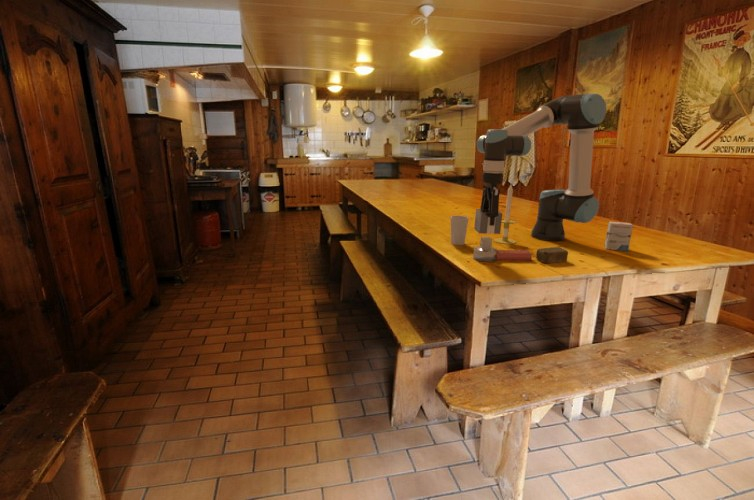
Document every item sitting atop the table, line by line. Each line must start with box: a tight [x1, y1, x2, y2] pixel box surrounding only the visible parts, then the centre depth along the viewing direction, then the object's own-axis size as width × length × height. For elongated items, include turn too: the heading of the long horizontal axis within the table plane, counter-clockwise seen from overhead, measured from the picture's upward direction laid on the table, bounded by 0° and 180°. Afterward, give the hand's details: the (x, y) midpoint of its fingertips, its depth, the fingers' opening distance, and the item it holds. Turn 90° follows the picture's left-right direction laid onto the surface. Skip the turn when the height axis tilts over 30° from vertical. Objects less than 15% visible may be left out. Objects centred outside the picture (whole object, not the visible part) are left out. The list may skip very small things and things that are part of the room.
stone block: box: [535, 246, 569, 264], centre depth 158 cm, size 6×12×5 cm, turn 107°
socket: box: [473, 208, 503, 235], centre depth 156 cm, size 8×8×8 cm
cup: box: [450, 215, 470, 246], centre depth 180 cm, size 8×8×12 cm
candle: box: [493, 184, 518, 245], centre depth 182 cm, size 10×10×27 cm
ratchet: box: [472, 236, 533, 263], centre depth 159 cm, size 22×9×8 cm, turn 91°
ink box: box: [604, 221, 634, 252], centre depth 175 cm, size 8×5×12 cm, turn 71°
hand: (486, 230), depth 157 cm, fingers closed on socket, 8 cm apart
